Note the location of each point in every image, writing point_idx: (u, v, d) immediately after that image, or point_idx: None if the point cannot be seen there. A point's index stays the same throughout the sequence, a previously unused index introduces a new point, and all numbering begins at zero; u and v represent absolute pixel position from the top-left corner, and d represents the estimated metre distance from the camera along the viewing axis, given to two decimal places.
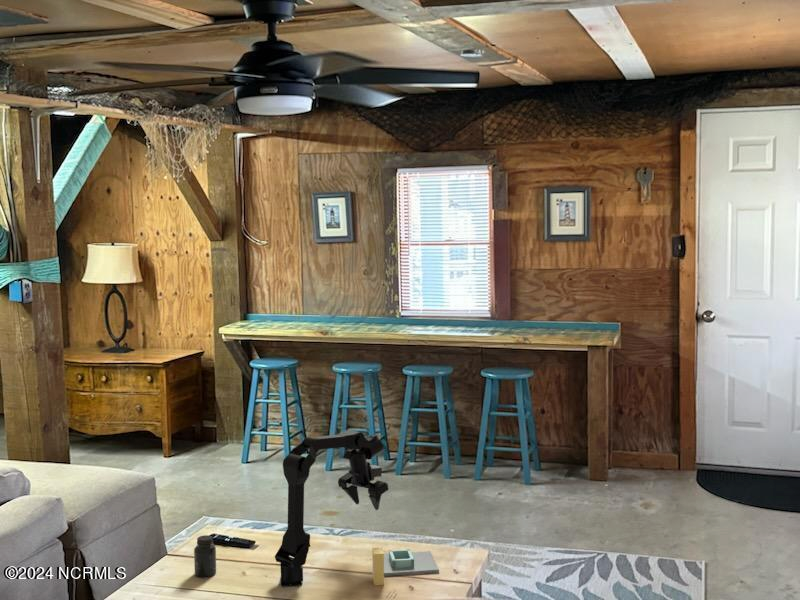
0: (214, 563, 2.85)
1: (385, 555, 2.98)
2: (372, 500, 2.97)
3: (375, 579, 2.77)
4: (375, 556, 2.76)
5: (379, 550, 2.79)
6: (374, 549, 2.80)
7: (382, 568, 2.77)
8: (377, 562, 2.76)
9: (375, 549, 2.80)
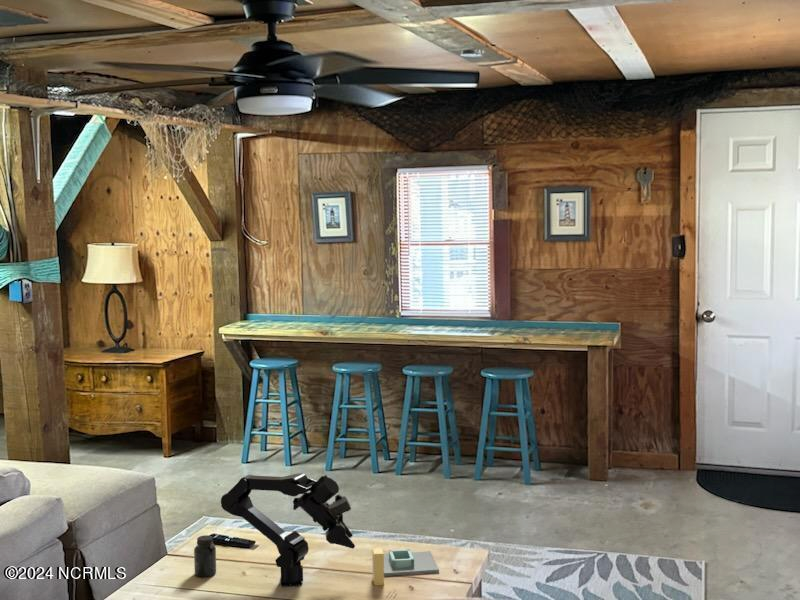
0: (214, 563, 2.85)
1: (385, 555, 2.98)
2: None
3: (375, 579, 2.77)
4: (375, 556, 2.76)
5: (378, 550, 2.79)
6: (374, 549, 2.80)
7: (382, 568, 2.77)
8: (377, 562, 2.76)
9: (375, 549, 2.80)
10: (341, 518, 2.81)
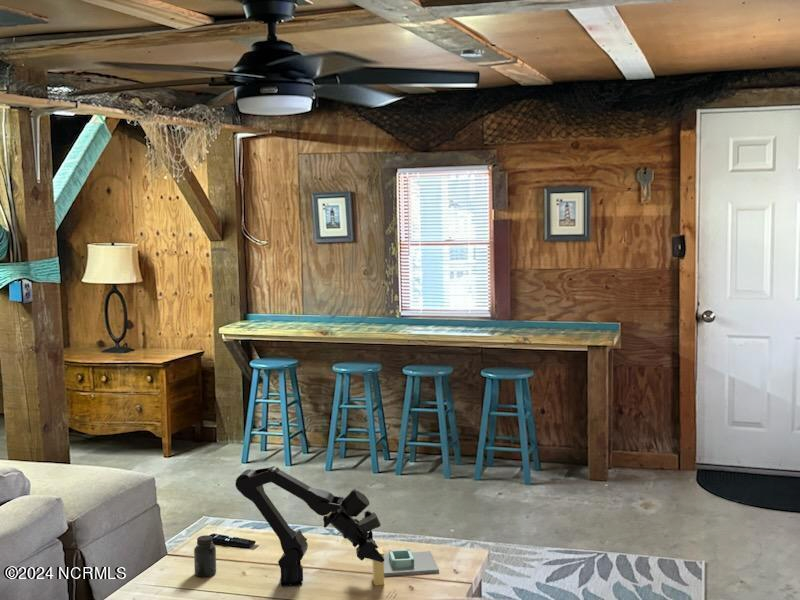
0: (214, 563, 2.85)
1: (385, 555, 2.98)
2: None
3: (375, 579, 2.77)
4: None
5: (379, 550, 2.79)
6: None
7: (382, 568, 2.77)
8: (377, 562, 2.76)
9: None
10: (371, 536, 2.81)
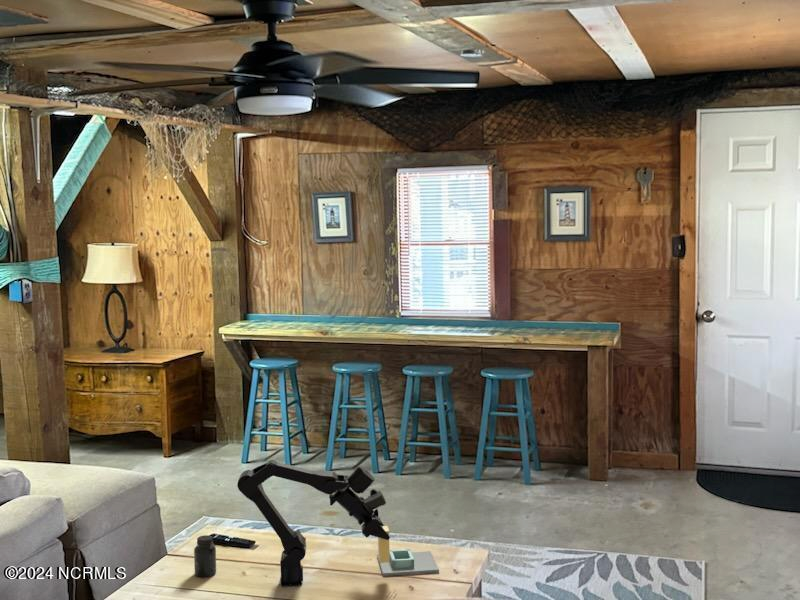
0: (214, 563, 2.85)
1: None
2: None
3: (381, 557, 2.79)
4: None
5: (384, 528, 2.81)
6: None
7: (387, 546, 2.79)
8: (383, 540, 2.78)
9: None
10: (377, 514, 2.83)
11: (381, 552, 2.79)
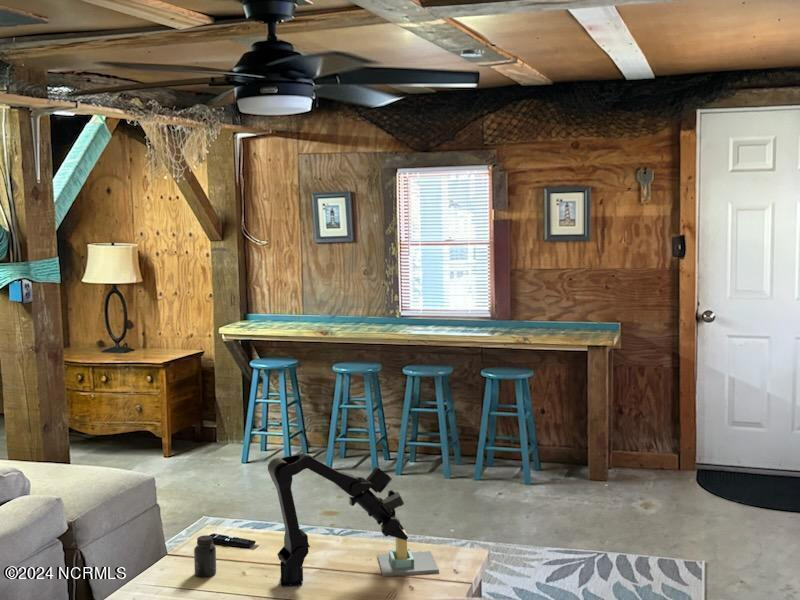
0: (214, 563, 2.85)
1: (385, 555, 2.98)
2: None
3: None
4: None
5: None
6: None
7: (405, 549, 2.90)
8: (401, 543, 2.89)
9: None
10: (394, 513, 2.95)
11: (399, 555, 2.89)
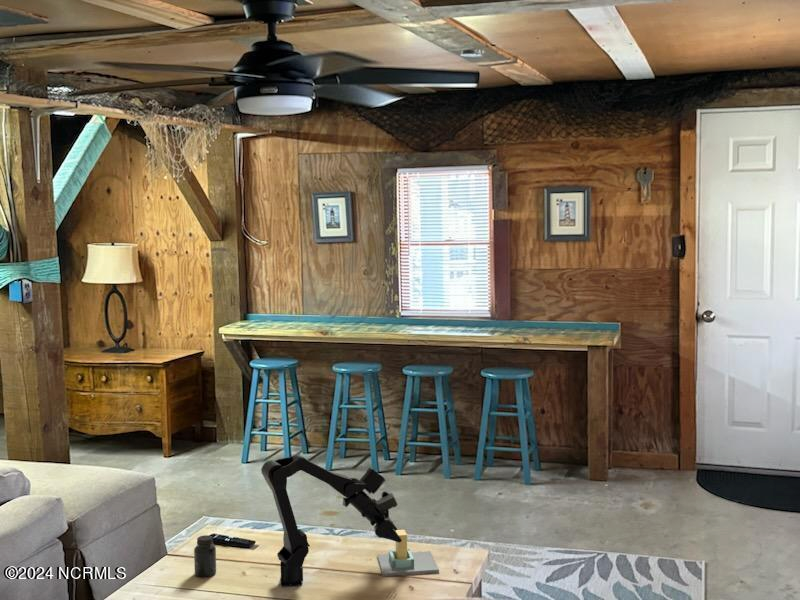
0: (214, 563, 2.85)
1: (385, 555, 2.98)
2: None
3: None
4: None
5: (402, 532, 2.92)
6: (397, 531, 2.93)
7: (405, 549, 2.90)
8: (401, 543, 2.89)
9: (398, 531, 2.93)
10: (387, 514, 2.95)
11: (399, 555, 2.89)
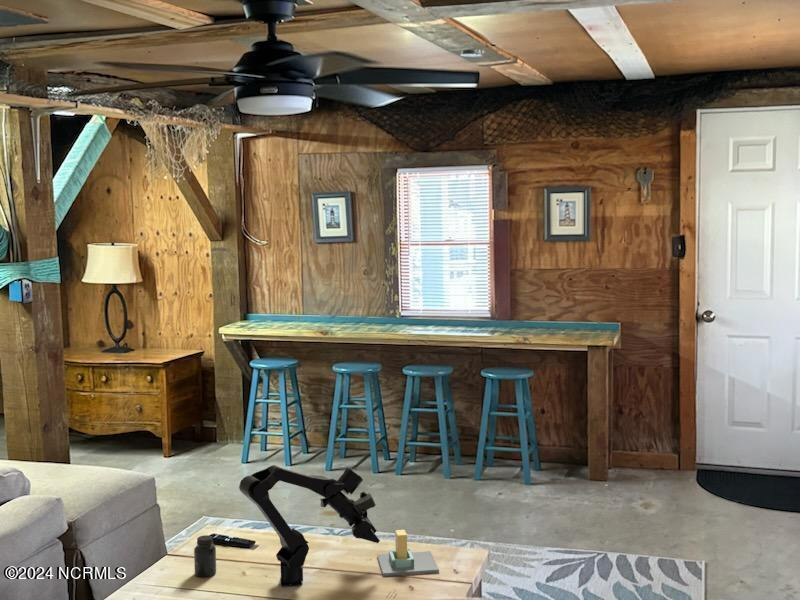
0: (214, 563, 2.85)
1: (385, 555, 2.98)
2: None
3: None
4: (399, 537, 2.89)
5: (402, 532, 2.92)
6: (397, 531, 2.93)
7: (405, 549, 2.90)
8: (401, 543, 2.89)
9: (398, 531, 2.93)
10: (365, 514, 2.94)
11: (399, 555, 2.89)
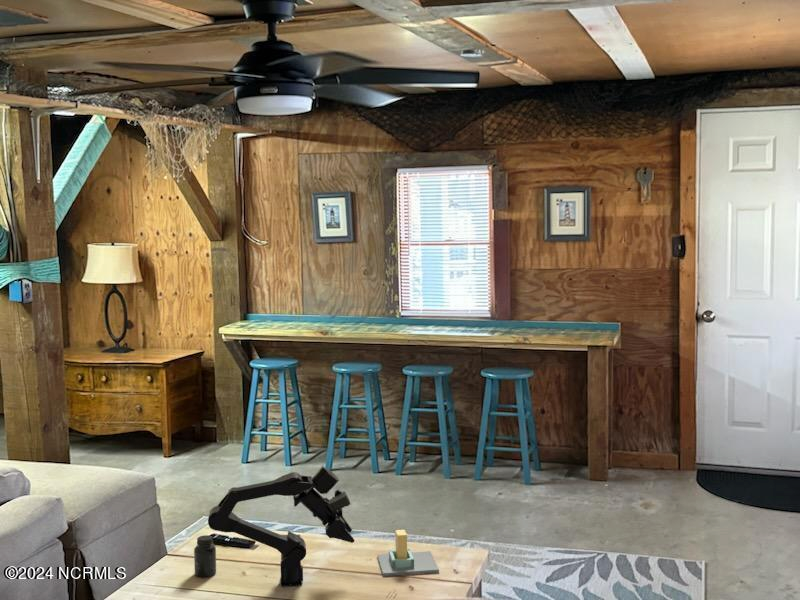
0: (214, 563, 2.85)
1: (385, 555, 2.98)
2: None
3: None
4: (399, 537, 2.89)
5: (402, 532, 2.92)
6: (397, 531, 2.93)
7: (405, 549, 2.90)
8: (401, 543, 2.89)
9: (398, 531, 2.93)
10: (341, 513, 2.85)
11: (399, 555, 2.89)
